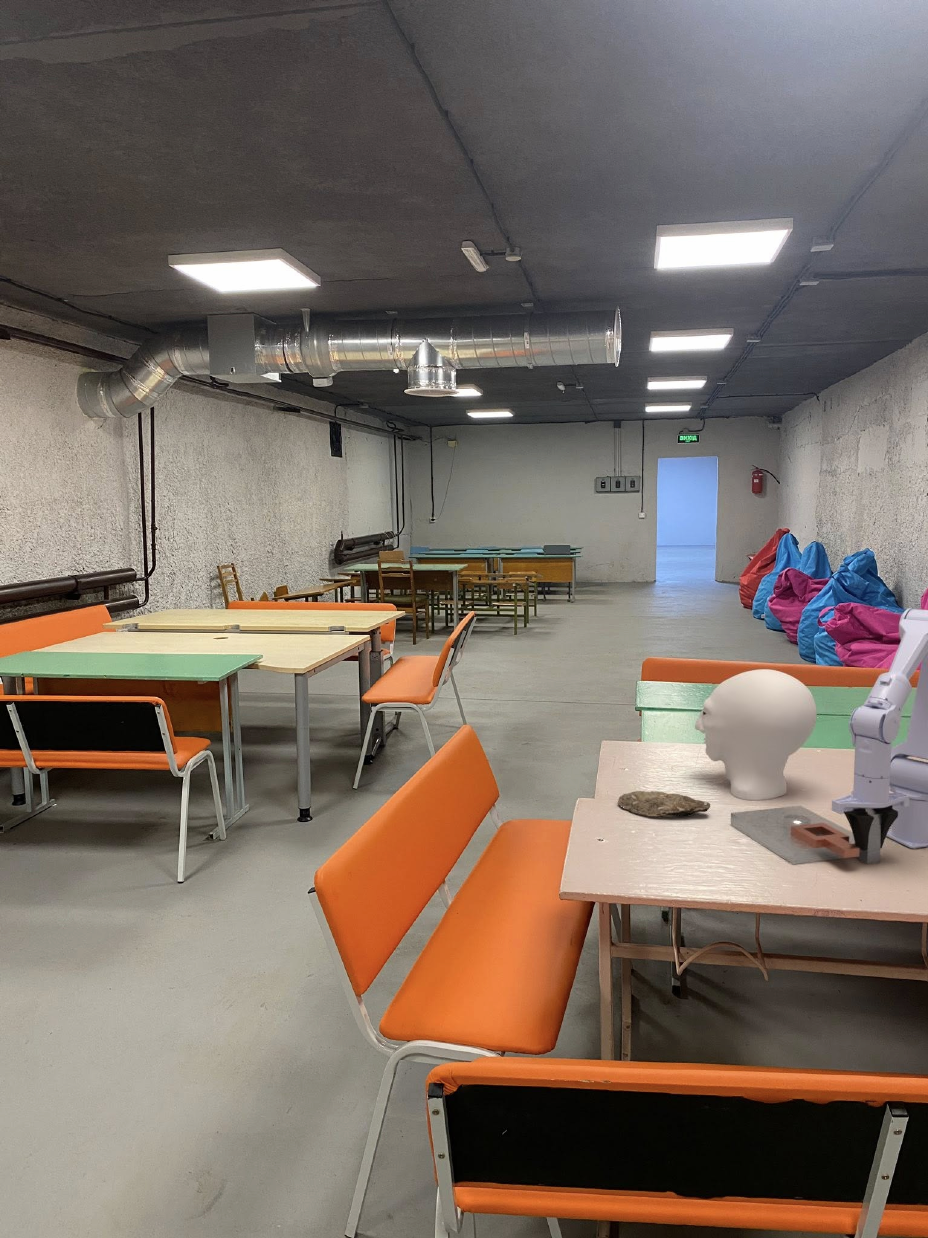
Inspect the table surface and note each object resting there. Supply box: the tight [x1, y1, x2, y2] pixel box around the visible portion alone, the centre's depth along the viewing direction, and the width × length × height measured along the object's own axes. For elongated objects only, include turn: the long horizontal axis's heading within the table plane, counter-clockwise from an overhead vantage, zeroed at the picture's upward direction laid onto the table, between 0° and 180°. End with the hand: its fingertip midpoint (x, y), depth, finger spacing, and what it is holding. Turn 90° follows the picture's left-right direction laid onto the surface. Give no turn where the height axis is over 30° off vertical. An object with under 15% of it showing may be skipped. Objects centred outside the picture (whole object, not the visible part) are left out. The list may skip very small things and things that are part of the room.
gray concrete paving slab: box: [730, 805, 859, 865], centre depth 151 cm, size 16×25×4 cm, turn 13°
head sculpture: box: [694, 668, 818, 801], centre depth 183 cm, size 17×27×28 cm, turn 52°
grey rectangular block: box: [856, 809, 882, 865], centre depth 143 cm, size 3×3×9 cm
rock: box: [617, 790, 711, 819], centre depth 170 cm, size 18×11×4 cm, turn 83°
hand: (868, 847), depth 144 cm, fingers closed on grey rectangular block, 3 cm apart
